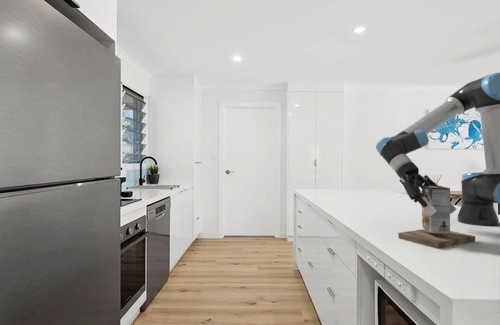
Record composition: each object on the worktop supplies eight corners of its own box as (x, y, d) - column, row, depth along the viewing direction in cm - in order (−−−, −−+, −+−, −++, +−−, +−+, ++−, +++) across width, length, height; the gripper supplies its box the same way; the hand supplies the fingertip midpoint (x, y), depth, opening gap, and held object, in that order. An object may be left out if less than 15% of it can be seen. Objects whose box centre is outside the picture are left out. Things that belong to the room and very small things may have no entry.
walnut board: (434, 232, 117) (433, 227, 117) (475, 241, 104) (475, 236, 104) (398, 238, 110) (398, 232, 110) (438, 248, 96) (437, 242, 96)
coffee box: (421, 227, 112) (421, 185, 112) (439, 228, 111) (439, 185, 111) (431, 233, 103) (430, 187, 103) (451, 234, 102) (451, 187, 102)
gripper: (417, 173, 125) (456, 216, 111) (378, 174, 116) (415, 221, 102) (429, 160, 120) (471, 203, 106) (389, 161, 111) (429, 208, 97)
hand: (443, 212), depth 104 cm, fingers closed on coffee box, 10 cm apart
